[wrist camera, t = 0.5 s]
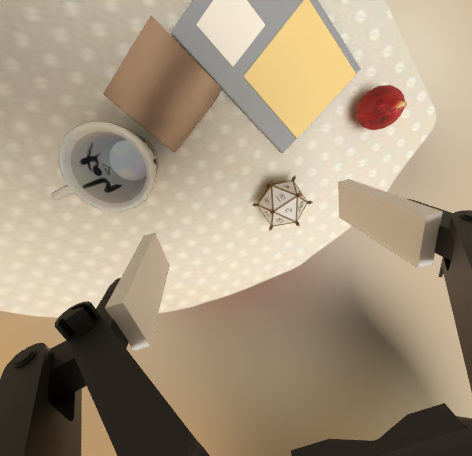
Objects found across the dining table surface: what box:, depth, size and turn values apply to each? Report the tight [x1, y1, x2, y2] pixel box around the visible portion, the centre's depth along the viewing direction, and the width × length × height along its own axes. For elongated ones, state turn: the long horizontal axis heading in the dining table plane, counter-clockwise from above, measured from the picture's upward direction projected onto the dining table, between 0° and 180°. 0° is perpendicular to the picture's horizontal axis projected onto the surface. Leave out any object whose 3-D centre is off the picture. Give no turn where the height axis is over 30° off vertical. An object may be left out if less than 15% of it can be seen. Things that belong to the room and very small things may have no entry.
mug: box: [51, 121, 158, 211], centre depth 30 cm, size 10×15×10 cm
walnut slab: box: [104, 16, 221, 152], centre depth 30 cm, size 10×10×6 cm
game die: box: [253, 176, 312, 231], centre depth 37 cm, size 9×8×10 cm
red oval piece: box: [356, 85, 407, 130], centre depth 33 cm, size 6×6×8 cm
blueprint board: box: [171, 0, 360, 153], centre depth 31 cm, size 22×16×2 cm
